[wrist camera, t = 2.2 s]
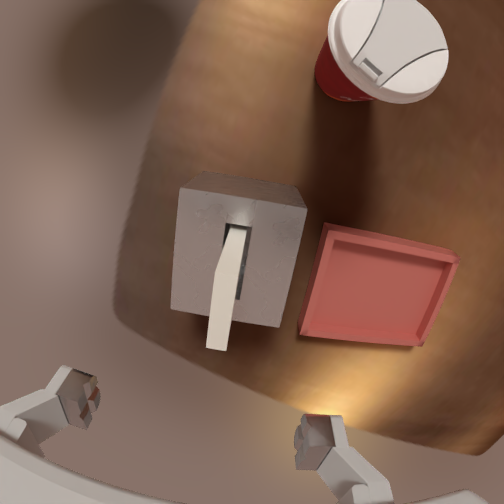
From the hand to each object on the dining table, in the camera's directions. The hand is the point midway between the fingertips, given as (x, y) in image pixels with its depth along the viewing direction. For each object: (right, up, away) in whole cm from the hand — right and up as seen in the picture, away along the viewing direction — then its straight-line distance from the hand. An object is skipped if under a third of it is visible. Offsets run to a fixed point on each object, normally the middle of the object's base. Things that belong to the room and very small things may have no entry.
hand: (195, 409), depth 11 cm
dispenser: (+1, +8, +21) cm, 23 cm away
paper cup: (+11, +23, +15) cm, 30 cm away
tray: (+16, +2, +23) cm, 28 cm away
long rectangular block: (+1, +7, +17) cm, 19 cm away
